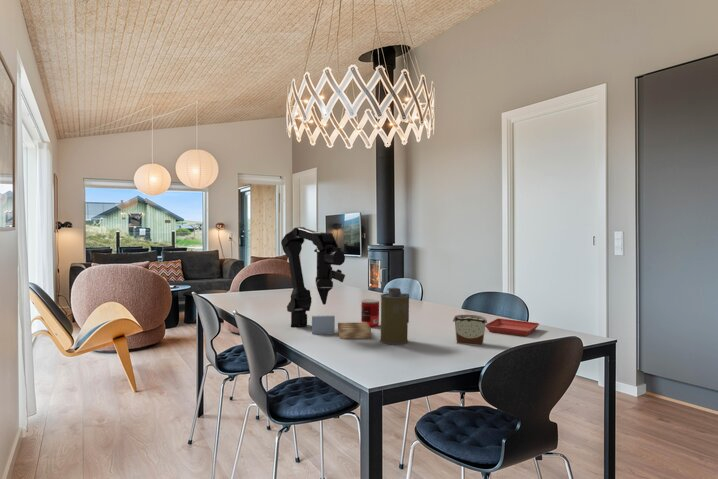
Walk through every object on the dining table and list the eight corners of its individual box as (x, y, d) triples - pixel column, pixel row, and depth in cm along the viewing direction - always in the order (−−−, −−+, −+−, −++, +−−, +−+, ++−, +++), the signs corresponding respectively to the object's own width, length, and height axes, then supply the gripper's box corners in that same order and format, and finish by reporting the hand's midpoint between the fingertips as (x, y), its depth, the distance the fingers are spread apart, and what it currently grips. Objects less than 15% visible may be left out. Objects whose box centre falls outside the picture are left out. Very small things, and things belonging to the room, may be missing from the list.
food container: (488, 342, 177) (488, 315, 177) (487, 346, 171) (487, 318, 171) (454, 339, 181) (455, 313, 181) (452, 343, 175) (453, 316, 175)
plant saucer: (528, 338, 185) (528, 330, 185) (483, 332, 195) (483, 324, 195) (539, 330, 200) (539, 323, 200) (497, 325, 210) (497, 318, 210)
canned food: (379, 324, 210) (379, 299, 209) (378, 327, 202) (378, 301, 201) (362, 323, 210) (362, 298, 210) (360, 327, 202) (360, 301, 202)
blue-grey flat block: (311, 334, 188) (312, 316, 188) (311, 333, 190) (312, 315, 190) (334, 333, 189) (334, 316, 189) (334, 332, 191) (334, 315, 191)
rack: (340, 338, 180) (340, 328, 180) (337, 331, 192) (337, 322, 192) (371, 338, 182) (371, 328, 182) (366, 331, 194) (367, 322, 194)
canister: (388, 346, 170) (389, 290, 169) (375, 339, 179) (375, 287, 179) (414, 343, 174) (415, 289, 174) (400, 337, 184) (400, 286, 183)
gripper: (346, 265, 181) (345, 306, 181) (342, 262, 199) (341, 299, 200) (317, 265, 179) (316, 306, 180) (315, 262, 198) (315, 299, 198)
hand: (323, 302), depth 189 cm, fingers open, 9 cm apart
